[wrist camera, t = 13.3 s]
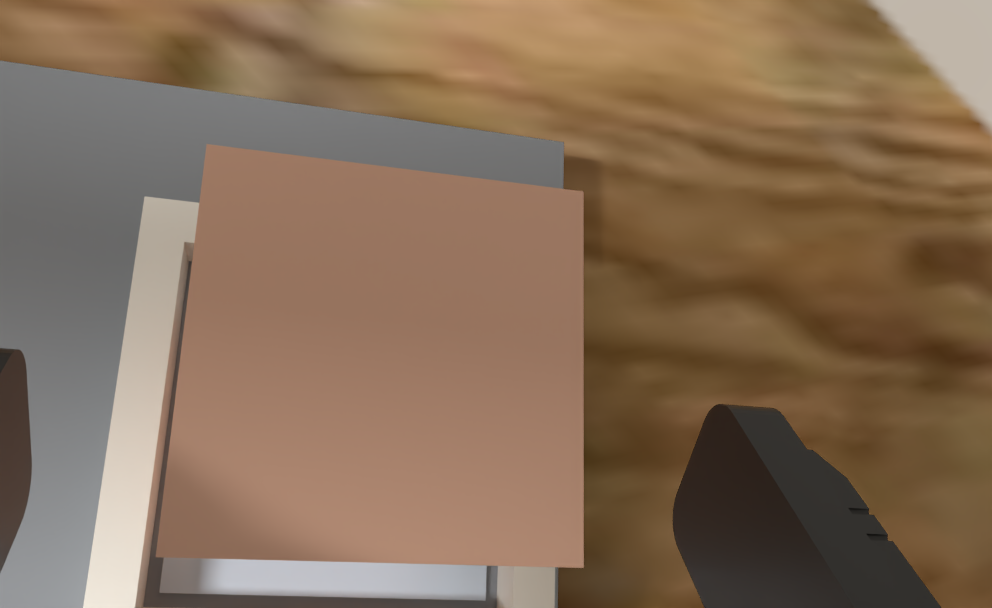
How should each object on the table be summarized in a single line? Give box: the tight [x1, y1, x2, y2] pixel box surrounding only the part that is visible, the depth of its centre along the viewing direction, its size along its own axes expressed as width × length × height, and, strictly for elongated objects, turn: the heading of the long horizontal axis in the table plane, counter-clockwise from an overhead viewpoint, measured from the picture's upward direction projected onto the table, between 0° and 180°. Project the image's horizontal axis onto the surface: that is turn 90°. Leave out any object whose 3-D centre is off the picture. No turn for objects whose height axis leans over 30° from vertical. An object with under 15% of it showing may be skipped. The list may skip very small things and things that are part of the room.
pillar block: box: [156, 144, 584, 568], centre depth 14 cm, size 4×4×8 cm
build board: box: [0, 61, 564, 608], centre depth 17 cm, size 18×14×2 cm
